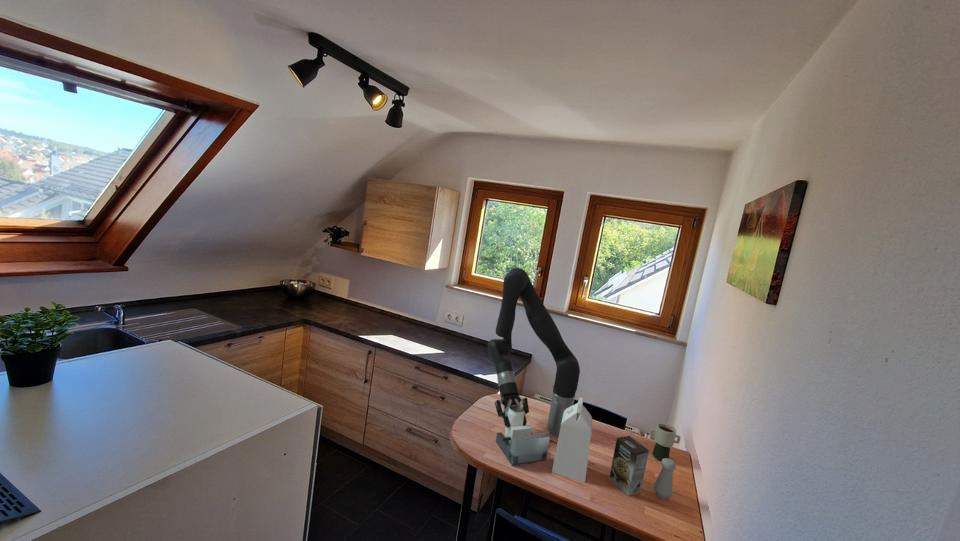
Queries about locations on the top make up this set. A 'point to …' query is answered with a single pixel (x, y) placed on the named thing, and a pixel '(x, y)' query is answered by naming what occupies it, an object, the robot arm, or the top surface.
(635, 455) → the coffee box
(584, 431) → the milk
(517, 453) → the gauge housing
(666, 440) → the character mug
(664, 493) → the salt shaker
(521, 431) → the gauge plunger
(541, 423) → the top surface
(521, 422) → the can
